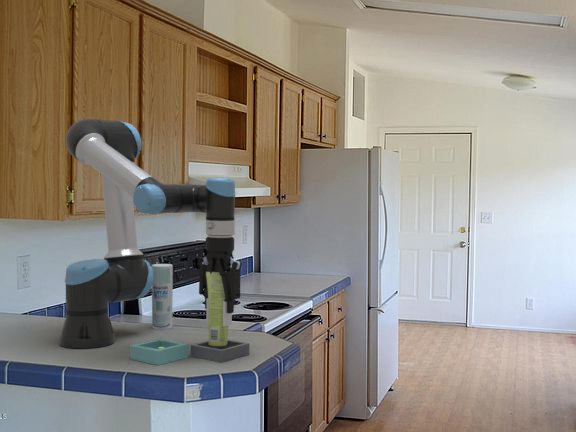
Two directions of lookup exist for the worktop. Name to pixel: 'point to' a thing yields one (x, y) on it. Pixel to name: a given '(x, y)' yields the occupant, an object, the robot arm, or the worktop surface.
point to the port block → (158, 351)
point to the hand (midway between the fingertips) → (218, 323)
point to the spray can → (162, 296)
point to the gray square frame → (220, 351)
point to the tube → (216, 310)
